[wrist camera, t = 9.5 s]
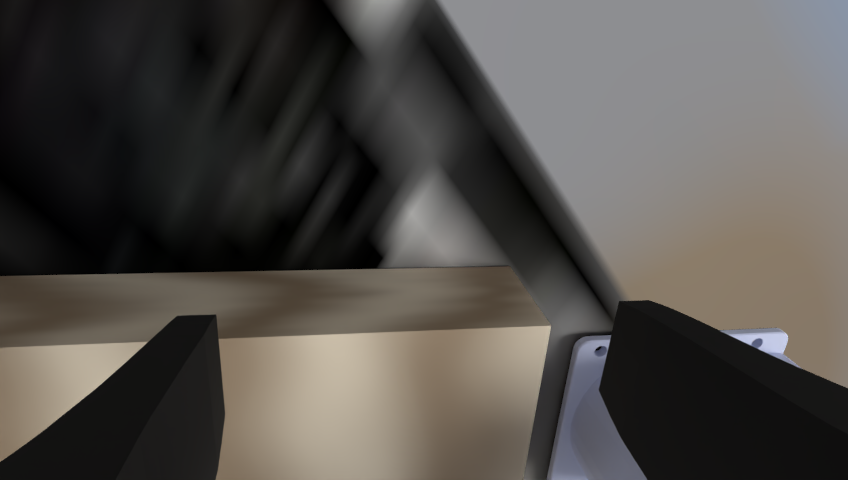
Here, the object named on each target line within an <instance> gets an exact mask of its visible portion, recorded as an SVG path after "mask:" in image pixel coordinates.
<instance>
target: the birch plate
mask: <svg viewBox="0 0 848 480" xmlns="http://www.w3.org/2000/svg"><path fill="white" fill-rule="evenodd" d="M212 314H216V316H217V327H218V338H219V349H220V360H221V372H222V383H223V394H224V405H225V420H224V428H223V436H222V444H221V451H220V459H219V466H218V472H217V476H216V480H523V478H524V473H525V467H526V462H527V456H528V451H529V445H530V440H531V434H532V429H533V423H534V418H535V412H536V407H537V401H538V396H539V390H540V385H541V379H542V374H543V368H544V363H545V357H546V352H547V346H548V341H549V335H550V330H551V325H550V323H549V322H548V320H547V319H546V317H545V316H544V315H543V313H542V312H541V310H540V309H539V307H538V306H537V304H536V303H535V302H534V300H533V299H532V297H531V296H530V294H529V293H528V292H527V290H526V289H525V287H524V286H523V284H522V283H521V282H520V280H519V279H518V277H517V276H516V274H515V273H514V271H513V270H512V269H511V267H510V266H502V267H450V268H398V269H345V270H293V271H241V272H189V273H137V274H85V275H33V276H0V462H1V461H2V460H4V459H5V458H7V457H8V456H9V455H11V454H12V453H14V452H15V451H16V450H18V449H19V448H21V447H22V446H23V445H25V444H26V443H28V442H29V441H30V440H32V439H33V438H34V437H36V436H37V435H38V434H40V433H41V432H42V431H44V430H45V429H46V428H47V427H49V426H50V425H51V424H52V423H54V422H55V421H56V420H57V419H59V418H60V417H61V416H62V415H64V414H65V413H66V412H67V411H69V410H70V409H71V408H72V407H74V406H75V405H76V404H77V403H79V402H80V401H81V400H82V399H84V398H85V397H86V396H87V395H89V394H90V393H91V392H92V391H94V390H95V389H96V388H97V387H98V386H100V385H101V384H102V383H103V382H104V381H105V380H106V379H108V378H109V377H110V376H111V375H112V374H113V373H114V372H115V371H117V370H118V369H119V368H120V367H121V366H122V365H123V364H125V363H126V362H127V361H128V360H129V359H130V358H131V357H132V356H133V355H134V354H135V353H137V352H138V351H139V350H140V349H141V348H142V347H143V346H144V345H145V344H146V343H147V342H148V341H150V340H151V339H152V338H153V337H154V336H155V335H156V334H157V333H158V332H159V331H161V330H162V329H163V328H164V327H165V326H166V325H167V324H168V323H169V322H170V321H172V320H173V319H174V318H175V317H176V316H182V315H212Z"/></svg>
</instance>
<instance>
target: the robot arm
mask: <svg viewBox="0 0 848 480" xmlns="http://www.w3.org/2000/svg"><path fill="white" fill-rule="evenodd" d="M754 340H755V341H754ZM787 341H788V336H787V334H786V333H785V332H783V331H782V330H781V329H779V328H763V329H739V330H717V329H715V328H713V327H711V326H709V325H706V324H705V323H702V322H700V321H698V320H696V319H694V318H692V317H689V316H687V315H685V314H683V313H680V312H678V311H676V310H673V309H671V308H669V307H666V306H663V305H661V304H658V303H655V302H652V301H649V300H645V301H619V304H618V309H617V313H616V317H615V322H614V326H613V330H612V335H603V336H586V337H582V338H581V339H579V340H578V341H577V342H576V343H575V345H574V347H573V352H572V357H571V362H570V367H569V371H568V376H567V381H566V386H565V391H564V396H563V401H562V406H561V411H560V416H559V421H558V425H557V430H556V435H555V440H554V445H553V450H552V455H551V460H550V465H549V470H548V475H547V480H848V388H846V387H843V386H841V385H838V384H836V383H833V382H831V381H829V380H827V379H824V378H822V377H820V376H817V375H815V374H813V373H810V372H808V371H806V370H803V369H802V368H800V367H799V366H798V365H797V364H795V363H794V362H793V361H792V360H790V359H789V358H788V357H786V356H785V355H784V354H783V352H784V350H785V347H786V344H787ZM599 346H602V347H601V349H600V350H598V351H595V350H596V348H598V347H599ZM224 420H225V405H224V394H223V383H222V372H221V360H220V349H219V338H218V327H217V316H216V314H212V315H182V316H176V317H175V318H174V319H173V320H172V321H170V322H169V323H168V324H167V325H166V326H165V327H164V328H163V329H162V330H161V331H159V332H158V333H157V334H156V335H155V336H154V337H153V338H152V339H151V340H150V341H148V342H147V343H146V344H145V345H144V346H143V347H142V348H141V349H140V350H139V351H138V352H137V353H135V354H134V355H133V356H132V357H131V358H130V359H129V360H128V361H127V362H126V363H125V364H123V365H122V366H121V367H120V368H119V369H118V370H117V371H115V372H114V373H113V374H112V375H111V376H110V377H109V378H108V379H106V380H105V381H104V382H103V383H102V384H101V385H100V386H98V387H97V388H96V389H95V390H94V391H92V392H91V393H90V394H89V395H87V396H86V397H85V398H84V399H82V400H81V401H80V402H79V403H77V404H76V405H75V406H74V407H72V408H71V409H70V410H69V411H67V412H66V413H65V414H64V415H62V416H61V417H60V418H59V419H57V420H56V421H55V422H54V423H52V424H51V425H50V426H49V427H47V428H46V429H45V430H44V431H42V432H41V433H40V434H38V435H37V436H36V437H34V438H33V439H32V440H30V441H29V442H28V443H26V444H25V445H23V446H22V447H21V448H19V449H18V450H16V451H15V452H14V453H12V454H11V455H9V456H8V457H7V458H5V459H4V460H2V461H1V462H0V480H216V476H217V472H218V466H219V459H220V451H221V444H222V436H223V428H224Z"/></svg>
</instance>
